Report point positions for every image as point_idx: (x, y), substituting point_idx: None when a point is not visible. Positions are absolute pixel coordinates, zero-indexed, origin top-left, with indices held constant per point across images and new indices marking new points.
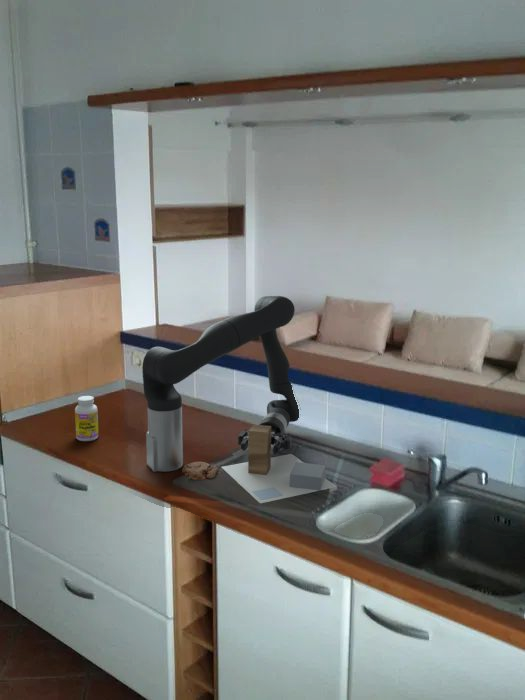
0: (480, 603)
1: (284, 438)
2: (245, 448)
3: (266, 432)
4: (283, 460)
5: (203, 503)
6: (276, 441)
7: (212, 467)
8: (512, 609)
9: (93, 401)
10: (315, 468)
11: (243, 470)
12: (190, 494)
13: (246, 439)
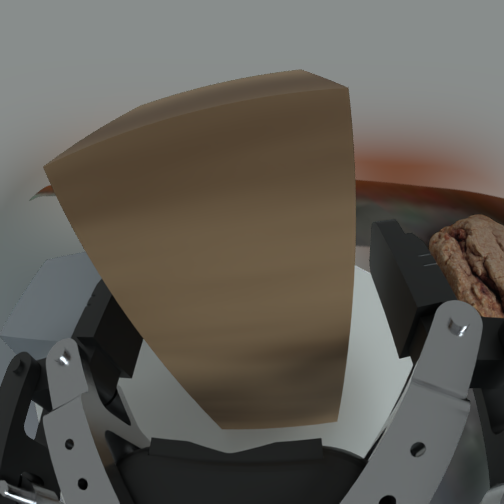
0: (46, 191)
1: (30, 484)
2: (376, 275)
3: (145, 104)
4: None
5: (359, 181)
6: (92, 377)
7: (486, 293)
8: (34, 196)
9: None
10: (31, 306)
11: (361, 346)
12: (415, 195)
13: (420, 286)
